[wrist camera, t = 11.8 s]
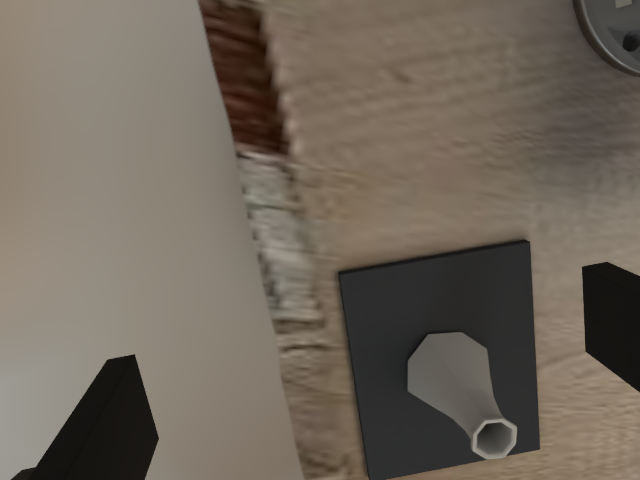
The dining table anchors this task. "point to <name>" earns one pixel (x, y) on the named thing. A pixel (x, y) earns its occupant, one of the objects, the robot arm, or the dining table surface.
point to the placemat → (434, 318)
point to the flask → (461, 390)
